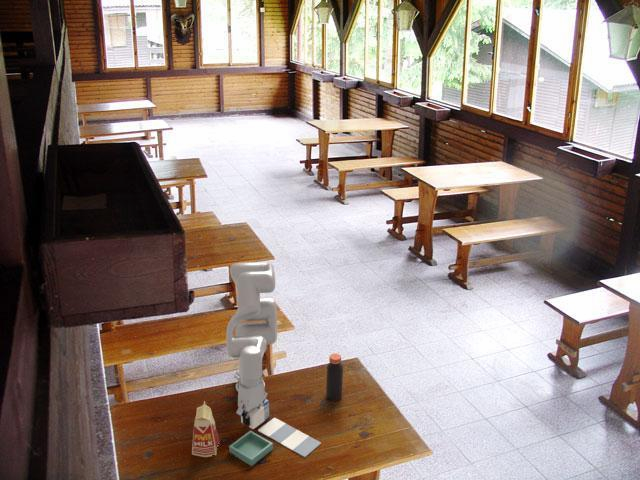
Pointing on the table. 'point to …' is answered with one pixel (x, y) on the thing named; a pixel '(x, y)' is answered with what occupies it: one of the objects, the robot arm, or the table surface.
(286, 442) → the track
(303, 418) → the table surface
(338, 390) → the bottle
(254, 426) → the die
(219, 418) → the table surface
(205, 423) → the milk carton
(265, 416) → the medicine box
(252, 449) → the dice tray
